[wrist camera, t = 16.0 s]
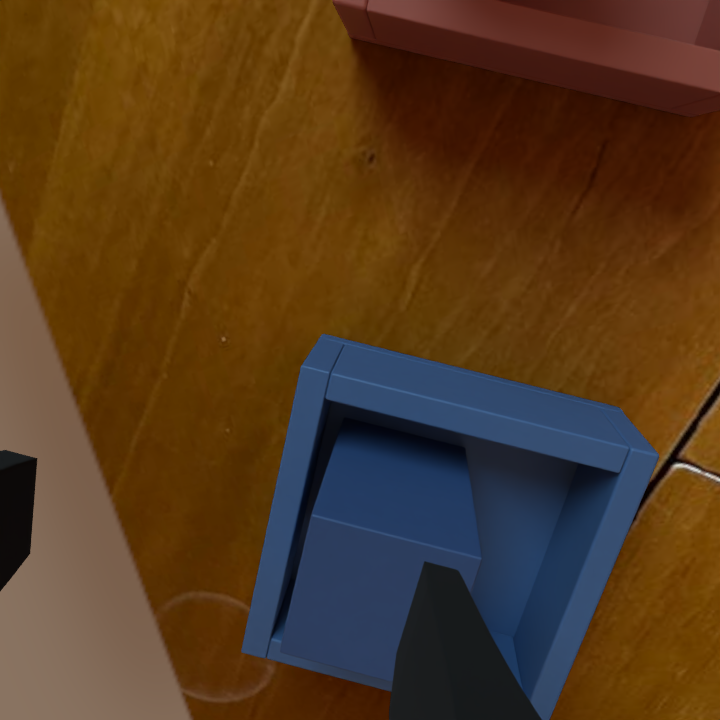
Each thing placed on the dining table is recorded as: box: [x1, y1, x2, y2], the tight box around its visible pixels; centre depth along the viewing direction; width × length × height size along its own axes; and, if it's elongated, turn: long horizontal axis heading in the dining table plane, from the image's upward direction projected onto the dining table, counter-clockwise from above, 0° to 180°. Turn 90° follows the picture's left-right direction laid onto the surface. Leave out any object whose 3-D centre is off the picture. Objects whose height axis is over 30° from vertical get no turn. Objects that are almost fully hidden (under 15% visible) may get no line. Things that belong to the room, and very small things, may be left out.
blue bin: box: [242, 334, 659, 720], centre depth 19 cm, size 10×10×4 cm
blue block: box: [280, 417, 483, 683], centre depth 17 cm, size 4×4×6 cm
